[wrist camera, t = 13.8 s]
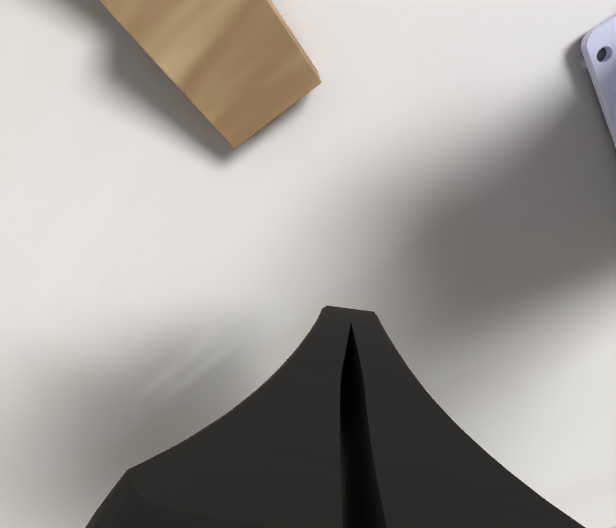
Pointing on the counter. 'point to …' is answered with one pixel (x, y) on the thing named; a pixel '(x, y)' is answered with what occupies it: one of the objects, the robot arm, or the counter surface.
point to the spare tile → (223, 57)
